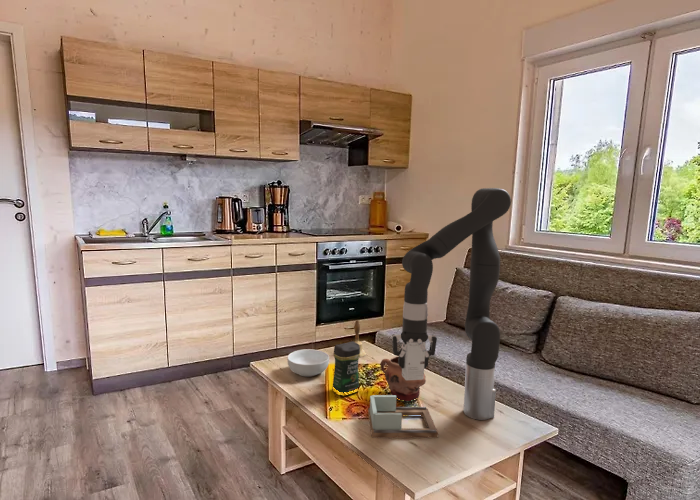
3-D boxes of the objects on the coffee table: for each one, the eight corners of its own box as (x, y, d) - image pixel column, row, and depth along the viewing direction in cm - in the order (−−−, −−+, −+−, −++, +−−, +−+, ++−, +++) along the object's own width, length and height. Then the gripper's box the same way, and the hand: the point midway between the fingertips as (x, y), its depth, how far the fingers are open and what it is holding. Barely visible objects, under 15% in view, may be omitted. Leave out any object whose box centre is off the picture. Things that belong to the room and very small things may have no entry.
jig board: (427, 412, 144) (427, 406, 144) (437, 437, 130) (438, 431, 129) (368, 412, 144) (368, 406, 143) (371, 437, 129) (372, 431, 129)
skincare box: (406, 381, 132) (407, 343, 130) (401, 375, 136) (402, 338, 135) (424, 379, 133) (426, 342, 132) (419, 373, 138) (420, 337, 136)
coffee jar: (341, 399, 153) (342, 349, 150) (329, 390, 159) (329, 342, 157) (362, 392, 159) (364, 344, 156) (350, 384, 165) (351, 338, 163)
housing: (395, 409, 143) (395, 395, 142) (401, 430, 130) (401, 414, 129) (369, 409, 142) (370, 395, 142) (373, 430, 130) (373, 414, 129)
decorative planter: (369, 392, 158) (369, 356, 156) (387, 382, 168) (388, 348, 166) (416, 410, 146) (417, 371, 144) (433, 398, 155) (435, 361, 153)
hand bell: (346, 356, 193) (347, 322, 191) (349, 350, 201) (350, 317, 199) (364, 358, 192) (365, 323, 190) (367, 351, 200) (367, 318, 198)
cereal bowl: (298, 385, 164) (298, 367, 163) (280, 370, 177) (280, 353, 176) (336, 375, 173) (336, 358, 172) (316, 361, 187) (316, 346, 186)
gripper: (435, 312, 136) (433, 363, 138) (390, 312, 136) (388, 362, 138) (441, 319, 129) (438, 372, 131) (393, 319, 128) (391, 372, 130)
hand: (413, 367), depth 134 cm, fingers closed on skincare box, 6 cm apart
